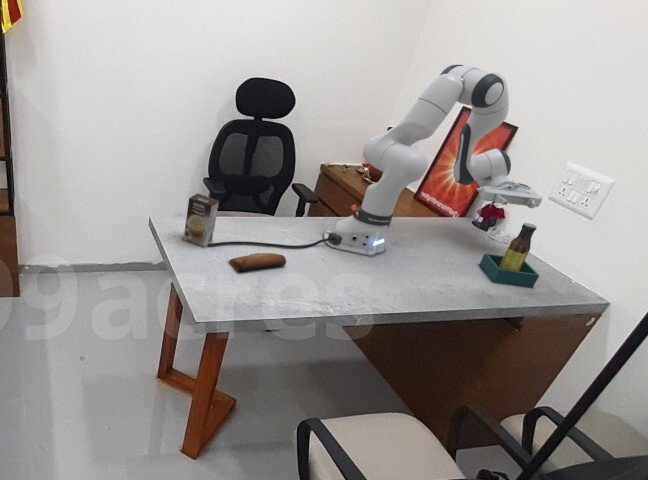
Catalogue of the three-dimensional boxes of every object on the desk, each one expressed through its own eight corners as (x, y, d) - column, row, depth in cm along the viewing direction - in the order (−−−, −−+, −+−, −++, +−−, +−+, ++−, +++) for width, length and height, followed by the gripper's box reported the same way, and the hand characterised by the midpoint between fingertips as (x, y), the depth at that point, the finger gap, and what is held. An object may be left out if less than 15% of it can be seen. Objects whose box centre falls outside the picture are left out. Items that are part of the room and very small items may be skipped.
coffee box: (182, 239, 186) (187, 197, 177) (191, 234, 191) (196, 192, 182) (204, 247, 182) (211, 205, 173) (213, 241, 187) (219, 200, 178)
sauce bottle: (517, 282, 182) (545, 231, 172) (499, 278, 183) (525, 227, 172) (510, 273, 188) (537, 223, 177) (492, 270, 189) (517, 220, 178)
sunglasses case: (271, 254, 181) (280, 244, 176) (279, 271, 179) (288, 261, 173) (227, 260, 175) (235, 249, 169) (234, 278, 172) (242, 268, 166)
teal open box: (492, 282, 181) (499, 269, 178) (478, 265, 191) (484, 253, 188) (532, 287, 180) (539, 275, 177) (516, 270, 190) (522, 258, 188)
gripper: (478, 179, 194) (492, 192, 182) (534, 186, 193) (552, 199, 181) (471, 195, 197) (485, 208, 186) (526, 202, 196) (544, 216, 185)
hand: (519, 204), depth 183 cm, fingers open, 8 cm apart
